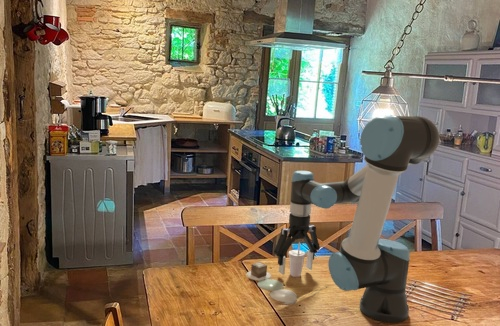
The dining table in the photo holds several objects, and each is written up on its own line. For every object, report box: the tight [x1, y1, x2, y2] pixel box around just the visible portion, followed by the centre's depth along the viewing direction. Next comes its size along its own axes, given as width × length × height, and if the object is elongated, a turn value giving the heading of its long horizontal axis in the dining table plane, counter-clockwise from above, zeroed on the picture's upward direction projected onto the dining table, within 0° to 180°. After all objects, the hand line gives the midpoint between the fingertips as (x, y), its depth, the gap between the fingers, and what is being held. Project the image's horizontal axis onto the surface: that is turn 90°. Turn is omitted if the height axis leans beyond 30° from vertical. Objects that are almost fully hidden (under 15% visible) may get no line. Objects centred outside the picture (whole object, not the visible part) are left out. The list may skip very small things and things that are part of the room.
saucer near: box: [269, 288, 298, 306], centre depth 153 cm, size 9×9×1 cm
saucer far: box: [245, 270, 272, 282], centre depth 168 cm, size 9×9×1 cm
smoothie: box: [287, 241, 307, 278], centre depth 169 cm, size 6×6×14 cm
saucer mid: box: [257, 278, 284, 292], centre depth 161 cm, size 9×9×1 cm
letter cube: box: [250, 261, 268, 278], centre depth 168 cm, size 4×4×4 cm
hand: (295, 270), depth 170 cm, fingers open, 11 cm apart
